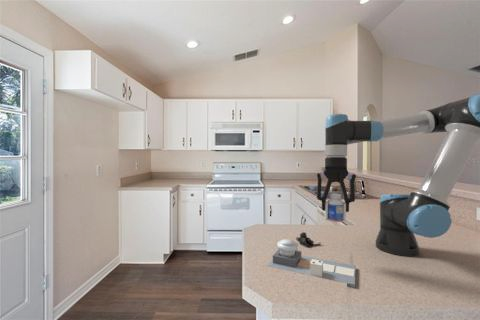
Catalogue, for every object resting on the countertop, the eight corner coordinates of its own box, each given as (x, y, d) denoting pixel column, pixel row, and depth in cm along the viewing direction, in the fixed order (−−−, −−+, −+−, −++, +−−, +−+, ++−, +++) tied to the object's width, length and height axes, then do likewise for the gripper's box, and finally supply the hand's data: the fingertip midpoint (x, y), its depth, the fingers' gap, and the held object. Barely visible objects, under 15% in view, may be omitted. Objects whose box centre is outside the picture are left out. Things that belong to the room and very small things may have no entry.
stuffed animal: (326, 245, 99) (307, 232, 96) (315, 266, 98) (295, 253, 94) (309, 236, 110) (291, 224, 107) (299, 255, 109) (280, 243, 105)
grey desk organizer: (355, 268, 80) (355, 254, 80) (354, 288, 68) (354, 271, 68) (279, 254, 93) (279, 242, 93) (267, 268, 80) (267, 255, 80)
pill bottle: (324, 219, 88) (324, 193, 88) (336, 218, 89) (336, 193, 90) (333, 223, 83) (334, 195, 83) (346, 222, 84) (346, 195, 84)
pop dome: (299, 254, 86) (299, 240, 86) (294, 261, 80) (294, 246, 80) (280, 251, 89) (280, 237, 89) (274, 257, 83) (274, 242, 83)
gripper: (360, 157, 87) (359, 219, 87) (309, 156, 92) (308, 215, 92) (366, 157, 80) (365, 224, 80) (310, 156, 85) (309, 220, 85)
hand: (334, 219), depth 86 cm, fingers closed on pill bottle, 5 cm apart
